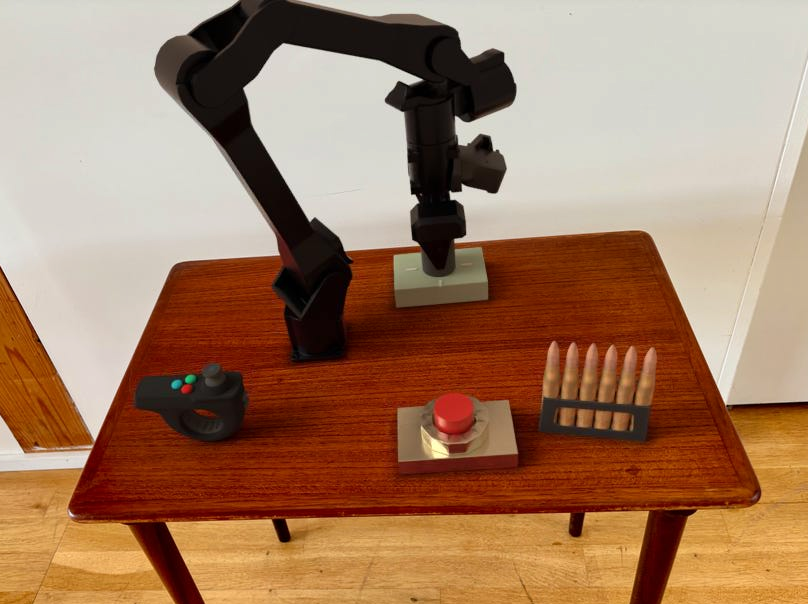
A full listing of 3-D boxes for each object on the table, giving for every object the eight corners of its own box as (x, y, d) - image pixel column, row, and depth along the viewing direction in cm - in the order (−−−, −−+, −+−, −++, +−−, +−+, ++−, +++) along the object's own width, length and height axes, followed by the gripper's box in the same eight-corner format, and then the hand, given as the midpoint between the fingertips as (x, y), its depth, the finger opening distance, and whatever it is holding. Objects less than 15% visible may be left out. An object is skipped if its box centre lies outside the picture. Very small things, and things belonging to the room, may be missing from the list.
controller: (254, 447, 78) (232, 382, 72) (149, 448, 80) (117, 385, 74) (262, 418, 82) (241, 354, 75) (161, 420, 83) (131, 357, 77)
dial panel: (396, 309, 93) (394, 290, 91) (395, 271, 100) (393, 252, 98) (488, 301, 92) (488, 281, 90) (481, 263, 99) (481, 244, 97)
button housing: (400, 475, 73) (396, 449, 70) (398, 421, 79) (395, 396, 76) (518, 467, 72) (518, 441, 69) (508, 413, 78) (508, 387, 75)
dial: (457, 275, 92) (455, 244, 89) (423, 278, 93) (420, 247, 89) (454, 256, 95) (452, 225, 92) (421, 259, 96) (418, 228, 93)
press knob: (435, 436, 72) (434, 422, 70) (433, 407, 75) (432, 393, 73) (475, 433, 71) (475, 419, 70) (472, 404, 74) (471, 391, 73)
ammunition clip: (645, 428, 74) (663, 341, 66) (646, 441, 72) (664, 355, 64) (539, 418, 76) (544, 334, 68) (538, 431, 75) (543, 346, 67)
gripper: (512, 165, 74) (510, 286, 84) (492, 94, 88) (492, 205, 98) (405, 177, 75) (417, 294, 86) (402, 104, 89) (412, 213, 99)
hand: (438, 248), depth 92 cm, fingers open, 9 cm apart
